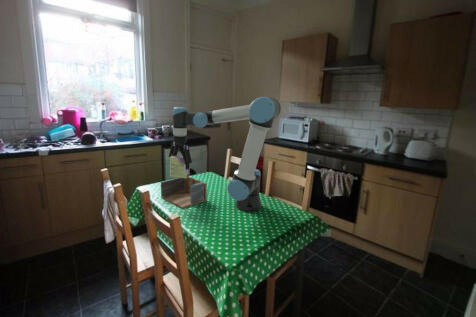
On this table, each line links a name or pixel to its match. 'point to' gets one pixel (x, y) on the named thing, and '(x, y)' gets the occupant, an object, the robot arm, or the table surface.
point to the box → (177, 167)
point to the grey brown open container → (184, 191)
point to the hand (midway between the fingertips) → (179, 172)
